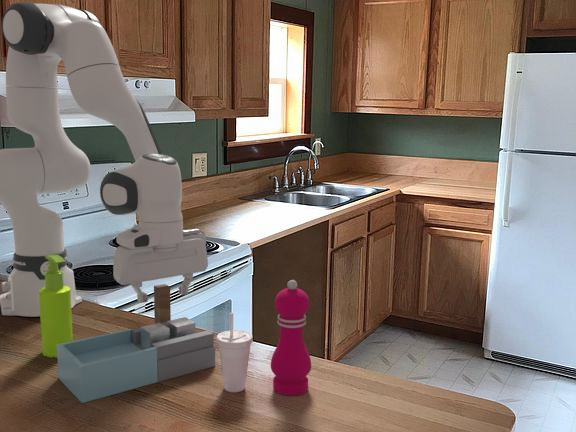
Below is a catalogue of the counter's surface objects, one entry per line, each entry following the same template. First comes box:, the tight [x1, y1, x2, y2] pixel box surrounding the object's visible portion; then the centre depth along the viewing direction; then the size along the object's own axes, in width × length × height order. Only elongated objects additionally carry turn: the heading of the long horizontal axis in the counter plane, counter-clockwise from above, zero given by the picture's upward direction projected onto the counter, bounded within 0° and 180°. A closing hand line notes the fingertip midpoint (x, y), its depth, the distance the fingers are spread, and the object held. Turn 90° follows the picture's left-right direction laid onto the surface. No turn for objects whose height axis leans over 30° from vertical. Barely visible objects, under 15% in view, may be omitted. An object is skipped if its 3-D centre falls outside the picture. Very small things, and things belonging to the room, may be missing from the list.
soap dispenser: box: [39, 255, 74, 358], centre depth 126 cm, size 6×7×20 cm
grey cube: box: [167, 316, 196, 339], centre depth 123 cm, size 4×4×4 cm
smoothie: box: [216, 312, 254, 393], centre depth 112 cm, size 6×6×14 cm
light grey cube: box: [140, 323, 170, 349], centre depth 120 cm, size 4×4×4 cm
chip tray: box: [56, 328, 159, 404], centre depth 115 cm, size 12×14×6 cm
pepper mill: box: [270, 279, 312, 397], centre depth 111 cm, size 7×7×20 cm
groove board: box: [130, 322, 216, 383], centre depth 122 cm, size 12×12×6 cm
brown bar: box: [153, 283, 172, 324], centre depth 134 cm, size 6×4×12 cm
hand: (163, 298), depth 133 cm, fingers open, 8 cm apart
